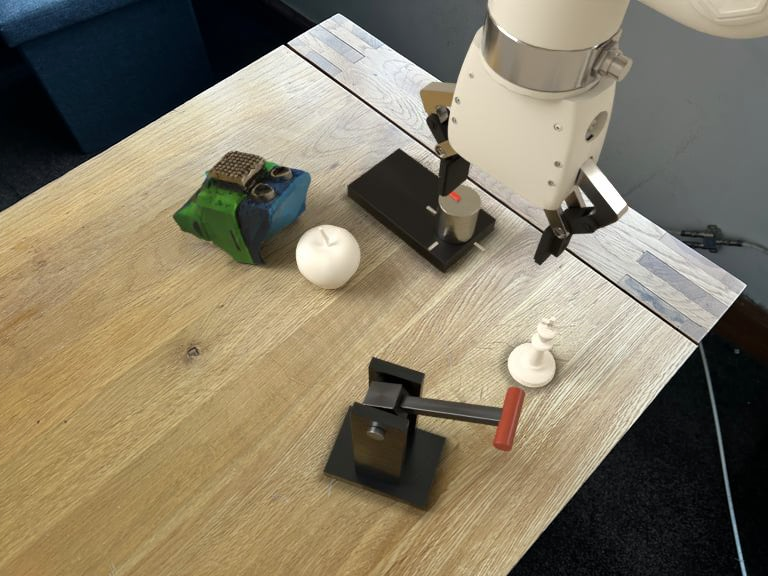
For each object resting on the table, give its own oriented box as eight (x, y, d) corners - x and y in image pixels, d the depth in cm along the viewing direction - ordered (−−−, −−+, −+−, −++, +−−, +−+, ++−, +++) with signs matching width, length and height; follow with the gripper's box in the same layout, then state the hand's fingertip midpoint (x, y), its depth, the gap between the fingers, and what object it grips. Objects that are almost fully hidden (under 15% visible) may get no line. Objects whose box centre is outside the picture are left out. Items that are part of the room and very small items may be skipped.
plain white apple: (327, 239, 78) (322, 194, 71) (373, 271, 75) (373, 228, 69) (285, 277, 75) (276, 234, 68) (332, 312, 72) (328, 271, 66)
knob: (483, 228, 76) (489, 198, 72) (456, 251, 75) (461, 222, 70) (453, 206, 78) (458, 176, 74) (426, 228, 76) (430, 198, 72)
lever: (529, 399, 49) (521, 383, 47) (515, 456, 46) (506, 441, 45) (387, 382, 55) (376, 367, 53) (369, 432, 52) (356, 417, 51)
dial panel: (506, 239, 78) (509, 227, 76) (455, 283, 75) (457, 273, 73) (398, 158, 85) (399, 146, 83) (347, 196, 81) (346, 184, 80)
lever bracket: (445, 441, 65) (463, 373, 51) (424, 511, 61) (437, 456, 48) (350, 409, 66) (343, 335, 53) (323, 475, 63) (310, 412, 50)
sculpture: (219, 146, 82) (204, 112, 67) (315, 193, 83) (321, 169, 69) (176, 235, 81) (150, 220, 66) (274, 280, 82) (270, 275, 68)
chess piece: (549, 393, 68) (574, 349, 59) (502, 379, 68) (520, 333, 60) (558, 352, 70) (584, 304, 62) (513, 339, 71) (532, 289, 62)
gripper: (711, 75, 37) (615, 252, 52) (472, -50, 43) (446, 139, 58) (641, 145, 34) (560, 312, 49) (394, 0, 40) (388, 187, 55)
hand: (498, 218), depth 53 cm, fingers open, 9 cm apart
